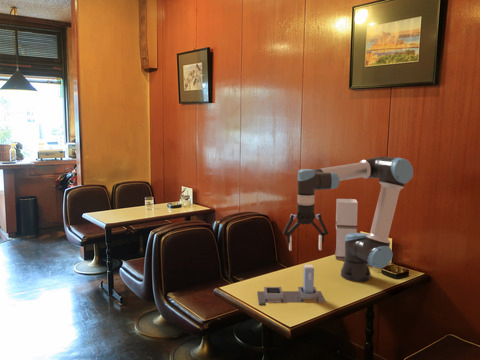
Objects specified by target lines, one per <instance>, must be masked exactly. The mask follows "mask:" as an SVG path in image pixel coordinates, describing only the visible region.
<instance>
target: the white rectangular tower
mask: <svg viewBox="0 0 480 360" xmlns="http://www.w3.org/2000/svg"><path fill="white" fill-rule="evenodd" d="M335 203H336V204H335V205H336V206H335V207H336V209H335V211H336V212H335V230H336V239H335V241H336V244H335V245H336V246H335V247H336V248H335V251H334V257H335V260H336V259H339V261H345V238H346V235H347V234H350V233H358V208H359V206H358V204H359V202H358V201H357V199H356V198H355V199H353V198H336V201H335Z"/></svg>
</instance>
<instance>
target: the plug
mask: <svg viewBox="0 0 480 360" xmlns="http://www.w3.org/2000/svg"><path fill="white" fill-rule="evenodd" d="M302 277H303V278H302V279H303V281H302V282H303V283H302V287H303V293H313V292H314V287H315V286H314V284H315V283H314V281H315V280H314V279H315V268H314V266H313V264H304V265H303V276H302Z"/></svg>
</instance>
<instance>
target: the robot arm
mask: <svg viewBox="0 0 480 360" xmlns="http://www.w3.org/2000/svg"><path fill="white" fill-rule="evenodd" d="M413 176H414V168H413V165H412V164H411V162H410V161H409V160H408V159H406V158H403V157H402V158H401V157H396V156H395V157H394V156H378V157H377V156H376V157H372V158H367V159H362V160H360V161H359V162H354V163H348V164H342V165H335V166H329V167H323V168H322V167H321V168H318V169H317V168H315V169H311V168H301V169H298V171H297V204H296V205H297V206H296V207H297V212H296V214H293V213H290V216H289V220H288V221H287V223H286V225H285V227H284V229H283V231H282V235H283V236H286V243H287V244H288V250H289V252H291V251H292V241H293V239H292V234H293V233H294V232H295V231H296V230H297V228H298V227H300V225H310V224H311V225H312V226H313V227H314V229H316V230H317V232H319V234H318V250H319V251H322V250H323V249H322V248H323V245H322V243H323V244H324V243H325V236H326V235H329V231H328V230H327V228H326V226H325V223H324V221H323V218H322V215H321V214H320V213H317V214H315V191H318V190H319V191H321V190H322V191H323V190H334V189H337V188H338V187H339V185H340V182H341V181H346V180H347V181H348V180H353V179H359V178H363V179H378V180H379V181H378V183H379V184H380V191H379V195H378V198H377V203H376V207H375V211H374V215H373V218H372V224H371V228H370V232H369V233H364V232H357V233H350V234H347V235H346V238H345V260H343V264H342V267H341V268H340V269H341V270H340V276H341V277H342V278H343V279H344V280H347V281H352V282H366V281H370V280H371V278H372V277H371V276H372V274H371V270H370V267H373V268H376V269H383V268H386V266H388V265H389V264H390V263H391V261H392V259H393V255H394V254H393V251H392V248H391V247H390V246H391V241H390V239H389V235H390V231H391V228H392V223H393V219H394V215H395V212H396V207H397V203H398V200H399V196H400V192H401V190H402V189H404V188H405V185H406V184H407V183H409V182H410V181H411V180H412V178H413ZM295 219H297V221H296V222H295V223H294V224H293V221H294V220H295ZM315 219H317V221H318V222H319V225H320V226H321V228H320V227H319V226H318V225H317V223H315V221H314V220H315ZM292 224H293V225H292ZM291 225H292V226H291ZM321 229H322V230H323V231H322V230H321Z"/></svg>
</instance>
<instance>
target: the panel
mask: <svg viewBox="0 0 480 360" xmlns="http://www.w3.org/2000/svg"><path fill="white" fill-rule="evenodd" d="M257 301H258V302H257V303H258V305H260V306H263V305H264V306H265V305H267V303H268V304H271V303H272V304H275V303H277V304H278V303H283V304H284V303H286V304H288V303H292V304H293V303H303V304H304V303H327V301H326V299H325V297H324V295H323V293H322V290H321V291H320V290H318V289H317V287H316V286H314V292H313V293H303V286H297V290H290V291H287V290H283V289H282V286H264V287H263V290H262V291H260V290H259V291H257Z"/></svg>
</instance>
